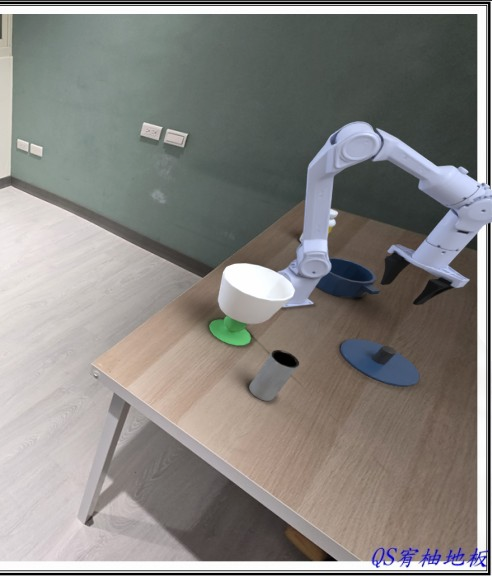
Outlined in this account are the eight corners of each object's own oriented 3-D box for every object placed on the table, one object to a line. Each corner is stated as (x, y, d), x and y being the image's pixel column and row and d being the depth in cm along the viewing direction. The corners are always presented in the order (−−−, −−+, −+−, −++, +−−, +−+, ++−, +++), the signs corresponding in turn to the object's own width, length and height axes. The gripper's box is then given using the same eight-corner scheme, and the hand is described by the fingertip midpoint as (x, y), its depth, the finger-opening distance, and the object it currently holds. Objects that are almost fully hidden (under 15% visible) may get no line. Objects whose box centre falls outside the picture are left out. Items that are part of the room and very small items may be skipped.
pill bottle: (321, 249, 122) (341, 217, 115) (297, 243, 125) (316, 211, 118) (322, 241, 126) (342, 210, 119) (299, 236, 129) (317, 204, 122)
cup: (186, 319, 95) (209, 267, 85) (231, 309, 98) (258, 259, 88) (227, 358, 85) (258, 305, 75) (275, 347, 87) (311, 294, 78)
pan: (345, 307, 99) (357, 291, 96) (292, 269, 113) (301, 254, 110) (385, 302, 101) (398, 286, 97) (328, 265, 114) (338, 250, 111)
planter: (251, 379, 80) (273, 346, 74) (275, 390, 78) (301, 357, 71) (246, 393, 77) (269, 359, 71) (271, 405, 75) (298, 371, 68)
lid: (379, 392, 77) (393, 377, 75) (324, 345, 88) (335, 331, 85) (433, 384, 79) (449, 370, 76) (373, 339, 90) (385, 325, 87)
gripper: (499, 260, 75) (448, 311, 84) (422, 226, 87) (384, 274, 95) (471, 264, 74) (422, 314, 83) (397, 229, 86) (361, 277, 94)
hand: (400, 293), depth 89 cm, fingers open, 7 cm apart
